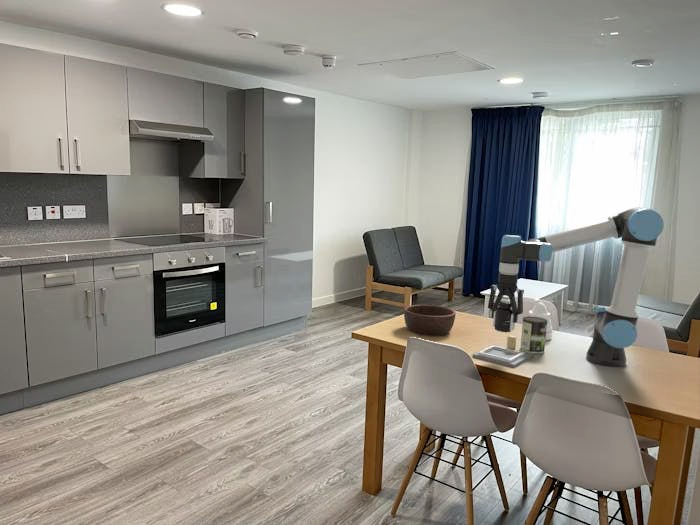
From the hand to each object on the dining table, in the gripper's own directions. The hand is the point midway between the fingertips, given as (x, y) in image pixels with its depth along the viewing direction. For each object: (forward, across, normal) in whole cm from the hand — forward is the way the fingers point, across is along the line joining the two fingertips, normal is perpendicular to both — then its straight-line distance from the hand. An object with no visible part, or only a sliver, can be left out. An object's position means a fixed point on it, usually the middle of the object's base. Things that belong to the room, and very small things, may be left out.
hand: (503, 327), depth 219 cm
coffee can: (+13, -5, -21) cm, 25 cm away
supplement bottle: (+1, 0, 0) cm, 1 cm away
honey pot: (+13, +2, -46) cm, 48 cm away
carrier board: (+13, 0, -2) cm, 13 cm away
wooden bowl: (+13, +44, -14) cm, 48 cm away
